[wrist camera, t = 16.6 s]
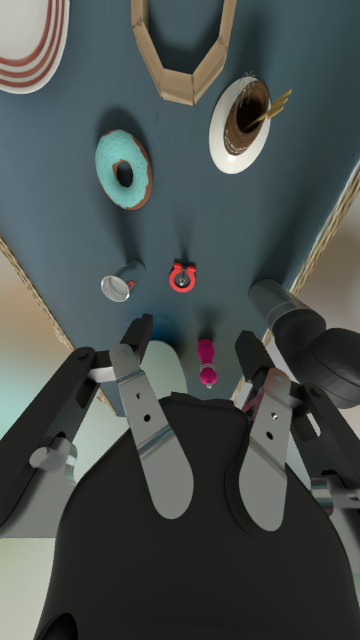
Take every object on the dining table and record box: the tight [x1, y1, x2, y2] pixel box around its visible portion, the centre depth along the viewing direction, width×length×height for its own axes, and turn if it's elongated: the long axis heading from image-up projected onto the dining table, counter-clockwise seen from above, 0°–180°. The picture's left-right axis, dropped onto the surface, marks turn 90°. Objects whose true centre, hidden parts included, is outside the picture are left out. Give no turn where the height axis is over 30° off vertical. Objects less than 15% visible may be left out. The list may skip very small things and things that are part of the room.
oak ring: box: [131, 0, 237, 106], centre depth 19 cm, size 14×14×3 cm
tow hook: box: [169, 262, 196, 292], centre depth 39 cm, size 8×13×9 cm
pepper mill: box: [197, 339, 217, 388], centre depth 53 cm, size 7×7×20 cm
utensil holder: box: [223, 69, 292, 156], centre depth 21 cm, size 6×6×12 cm
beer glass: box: [101, 260, 146, 302], centre depth 38 cm, size 7×7×15 cm
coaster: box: [209, 77, 271, 174], centre depth 26 cm, size 11×11×1 cm
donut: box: [95, 129, 152, 210], centre depth 30 cm, size 12×12×4 cm
